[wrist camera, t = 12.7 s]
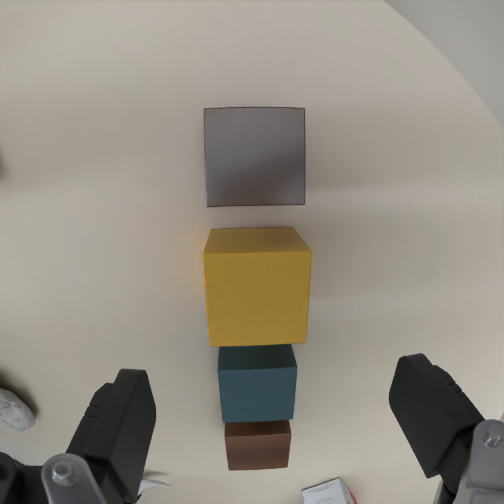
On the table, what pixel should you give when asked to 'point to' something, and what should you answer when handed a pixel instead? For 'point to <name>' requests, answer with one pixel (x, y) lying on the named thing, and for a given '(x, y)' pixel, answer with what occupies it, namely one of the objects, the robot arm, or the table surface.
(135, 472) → the robot arm
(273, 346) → the block
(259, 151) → the block
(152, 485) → the black white curved piece
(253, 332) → the yellow block
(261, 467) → the block
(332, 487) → the ink box
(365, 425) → the table surface
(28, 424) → the decorative stone
